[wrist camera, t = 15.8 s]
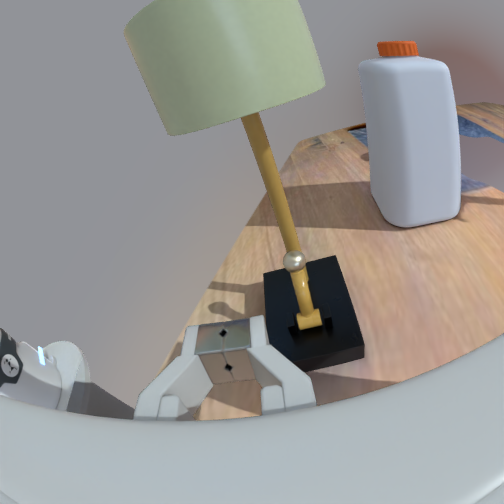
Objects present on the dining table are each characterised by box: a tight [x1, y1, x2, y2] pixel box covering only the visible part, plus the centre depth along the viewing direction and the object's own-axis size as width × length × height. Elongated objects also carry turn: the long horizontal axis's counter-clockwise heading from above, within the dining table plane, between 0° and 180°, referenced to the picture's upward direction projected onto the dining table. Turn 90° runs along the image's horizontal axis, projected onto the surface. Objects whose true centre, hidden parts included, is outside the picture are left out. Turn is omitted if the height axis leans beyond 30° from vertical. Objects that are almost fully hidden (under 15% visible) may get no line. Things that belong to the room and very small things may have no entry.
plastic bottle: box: [358, 41, 461, 227], centre depth 34 cm, size 15×15×28 cm
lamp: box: [124, 0, 365, 372], centre depth 24 cm, size 18×14×35 cm
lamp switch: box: [283, 250, 322, 330], centre depth 27 cm, size 2×2×9 cm
